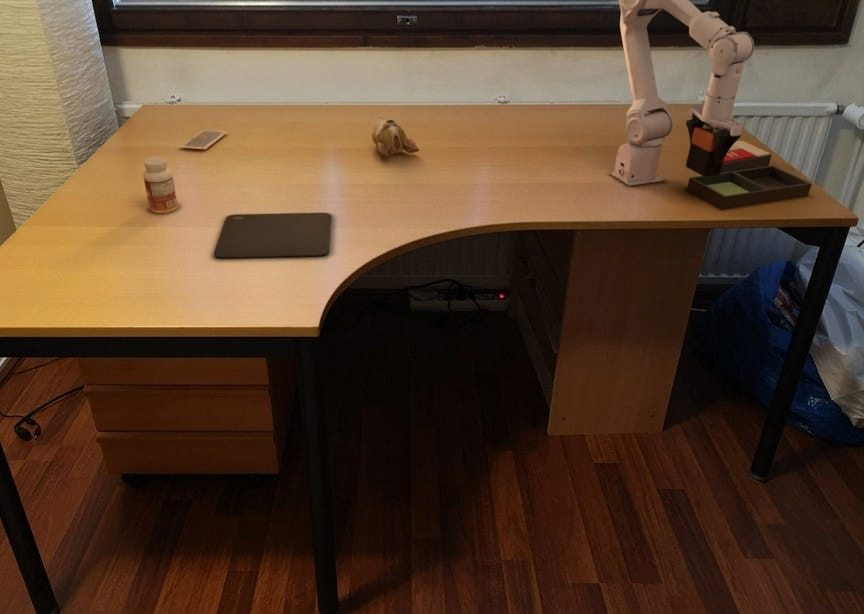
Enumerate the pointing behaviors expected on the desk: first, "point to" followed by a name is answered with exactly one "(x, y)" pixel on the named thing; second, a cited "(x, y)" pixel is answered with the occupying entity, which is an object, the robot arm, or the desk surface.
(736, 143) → the red and cream box
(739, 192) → the organizer
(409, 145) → the ceramic sculpture
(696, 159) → the battery
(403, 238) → the desk surface
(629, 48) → the robot arm
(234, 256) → the mouse pad
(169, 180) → the pill bottle
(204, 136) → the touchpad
